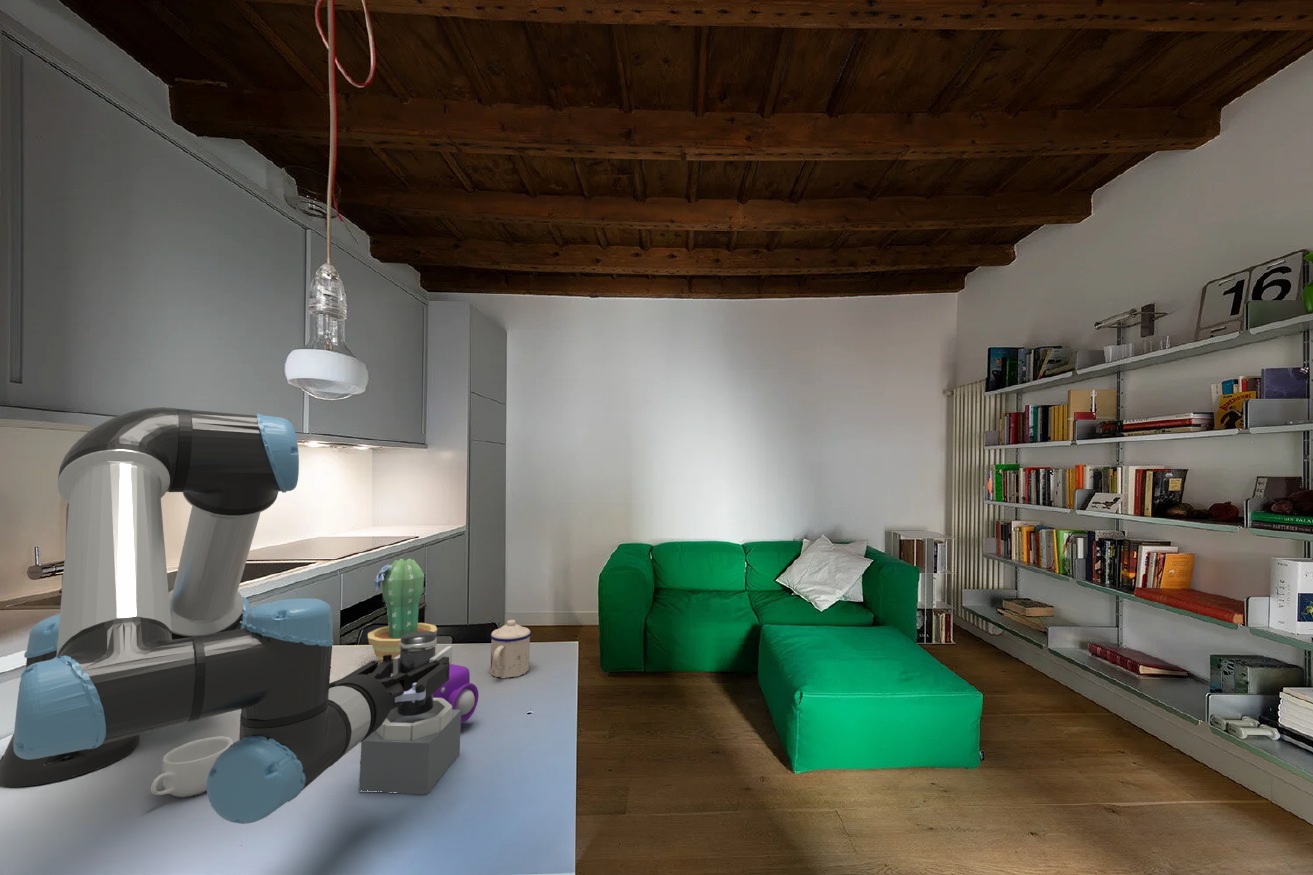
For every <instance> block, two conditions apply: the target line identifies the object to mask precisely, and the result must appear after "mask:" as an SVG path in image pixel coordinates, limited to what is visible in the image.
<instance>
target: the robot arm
mask: <svg viewBox="0 0 1313 875" xmlns="http://www.w3.org/2000/svg"><path fill="white" fill-rule="evenodd" d="M298 444H299V443H298V438H297V434H296V430H295V428H294V425H293V424H292V423H291V421H289V420H288V419H287V418H283V417H280V416H273V415H263V414H262V413H256V415H254V414H244V413H233V412H232V413H231V412H220V411H210V410H209V411H208V410H200V409H199V410H197V409H185V408H176V407H148V408H142V409H137V410H132V411H128V412H126V413H123V414H120V415H117V416H114V417H112V418H109V419H108V420H106V421H104V422H102V423H100V424H99V425H97V426H95V427H94V428H92V429H91V430H89V431H88V432H86V433H85V434H84V435H83V436H81V437H80V438H79V439H77V441H75V443H74V444H73V445H72V446H71V447H70V449H69V450H68V451H67V452H66V454H65V455H64V457H63V459H62V461H61V463H60V465H59V470H58V475H57V476H58V478H57V489H58V493H59V495H60V496H61V498H62V499H63V500H64V501H65V502H66V503H67V504H68V516H67V527H66V538H65V548H64V549H65V550H64V551H65V552H64V563H63V573H62V574H63V576H62V585H61V586H62V587H61V595H60V596H61V599H60V610H59V613H57V614H54V615H52V616H50V617H46V618H45V619H42V620H41V621H39V622H38V623H36V624H35V625H33V627H32V628H31V630H30V631H29V632H30V633H29V636H28V642H27V647H26V651H25V652H24V655H23V656H24V658H25V659H26V663H25V668H24V670H23V671H22V672H21V675H20V681H19V686H18V693H17V703H16V710H15V722H14V728H13V729H14V730H13V731H14V732H13V734H12V736H11V738H10V741H9V743H8V745H7V747H6V749H5V752H4V754H3V755H2V756H1V758H0V785H1V786H3V787H17V788H18V787H28V786H29V787H31V786H36V785H43V784H44V785H45V784H50V783H54V782H59V781H64V780H66V779H70V778H73V777H74V778H76V777H78V776H80V775H81V776H82V775H84V774H87V773H89V772H93V771H95V770H99V769H101V768H103V767H106V766H109V765H111V764H114V763H115V762H118V761H119V760H121V759H123V758H125V757H127V756H128V755H130V754H131V753H133V752H134V751H135V750H136V749H137V748H138V747H139V743H140V735H143V734H147V733H151V732H154V731H159V730H162V729H166V728H169V727H174V726H177V725H181V724H184V723H189V722H193V721H194V722H195V721H197V720H202V719H206V718H210V717H215V716H219V715H223V714H227V713H230V712H231V713H232V712H235V711H238V710H240V716H239V718H240V719H239V721H240V722H239V735H238V736H239V739H238V740H237V741H235V742H233V745H230V747H229V748H228V749H227V750H225V751H224V752H223V753H222V754H221V755H220V756H219V757H218V758H217V760H216V761H215V763H214V765H213V767H212V769H211V771H210V772H209V775H208V778H207V791H206V795H207V799H208V802H209V803H210V806H211V808H212V809H213V810H214V811H215V813H216V814H217V815H218V816H219V817H220V818H222V819H223V820H226V821H228V822H230V823H235V824H241V825H245V824H252V823H256V822H259V821H261V820H263V819H265V818H267V817H268V816H270V815H271V814H272V813H274V812H275V811H277V810H278V809H280V808H281V807H283V806H284V805H286V803H290V802H291V801H293V800H294V799H295V798H297V797H298V796H299V795H300V794H301V793H302V792H303V791H304V790H305V789H306V788H307V787H308V786H309V785H310V784H312V783H313V781H315V780H316V779H317V778H318V777H319V776H320V775H322V774H323V773H324V772H325V771H327V770H328V768H330V767H332V766H334V764H335V763H337V762H338V761H339V760H341V759H342V758H343V757H344V756H345V755H347V754H348V753H349V752H350V751H351V750H352V749H354V748H355V747H357V746H358V745H359V744H361V742H362V741H363V740H364V739H366V738H367V737H368V736H369V735H371V734H372V733H373V732H374V731H376V730H377V729H378V728H379V727H380V726H381V725H382V724H383V722H384V721H385V719H386V717H387V716H388V714H389V712H390V711H391V710H392V709H394V708H397V707H399V706H401V705H402V703H403V701H412V703H415V706H422V705H424V704H425V701H426V699H427V698H428V697H429V696H430V695H431V694H433V693H434V692H435V691H436V690H437V689H439V688H440V687H441V686H442V685H443V684H445V683H446V682H447V681H448V680H449V669H450V664H452V663H453V647H454V646H452V645H448V646H446V647H445V648H443V649H442V650H441V651H439V652H437V653H435V656H434V657H432V658H430V659H429V663H428V664H426V665H424V666H421V667H419V668H417V669H415V670H413V671H411V672H408V673H406V674H403V673H399V667H400V655H398V656H396V657H394V658H393V659H392V655H384V656H383V662H382V663H381V662H380V663H378V662H379V660H371V661H369V662H367V663H365V664H364V665H362V666H361V667H359V668H357V669H356V670H353V671H352V672H350V673H349V674H347V675H345V676H343V677H342V678H340V679H337V680H334V681H332V682H330V681H331V668H332V655H333V645H334V639H333V610H332V607H331V605H330V604H329V603H328V602H326V601H324V600H323V599H319V598H309V597H307V598H306V597H305V598H304V597H303V598H290V599H289V598H288V599H281V600H274V601H272V602H266V603H262V604H258V605H256V606H254V607H252V608H251V606H250V605H251V604H250V602H249V600H248V599H247V598H246V597H245V596H243V595H242V594H241V593H240V592H239V588H240V584H241V580H242V577H243V574H244V570H245V566H246V564H247V560H248V556H249V553H250V549H251V546H252V543H253V540H254V536H255V533H256V530H257V525H258V524H259V519H260V516H261V513H262V512H265V511H266V510H267V509H269V508H270V507H271V506H272V505H274V503H275V502H276V500H277V498H278V495H279V492H281V493H285V494H286V493H287V492H292V491H293V490H295V489H296V487H297V485H298V481H299V476H300V467H299V466H300V457H299V456H300V455H299V446H298ZM166 493H182V495H183V497H184V499H185V501H186V502H187V503H188V504H189V505H190V506H191V509H190V510H191V511H190V514H189V518H188V523H187V528H186V530H185V531H186V532H185V536H184V540H183V545H182V550H181V554H180V558H179V563H178V567H177V571H176V577H175V580H174V581H175V582H174V584H173V589H172V590H170V591H169V584H168V583H169V582H168V571H167V558H166V547H165V544H166V543H165V534H164V533H165V532H164V522H163V520H164V519H163V510H162V498H163V497H164V496H165V494H166Z"/></svg>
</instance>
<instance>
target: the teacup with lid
mask: <svg viewBox="0 0 1313 875" xmlns="http://www.w3.org/2000/svg"><path fill="white" fill-rule="evenodd" d="M531 635H532V632H531V630H530V629H529V628H528V627H525V626H522V625H520V624H517V621H516V620H515V619H509V620H507V622H506V624H504V625H502V626H501V627H499V628H497V629H495V630H493V631H492V632H491V634H490V638H491V644H490V646H491V648H490V674H491V676H493V677H494V676H495V678H497V677H513V676H518V675H522V674H524V673H526V672H527V671H528V672H529V671H530V648H531V647H530V642H531V641H530V640H531ZM528 672H527V673H528ZM527 673H526V674H527ZM524 675H525V674H524ZM522 676H523V675H522Z"/></svg>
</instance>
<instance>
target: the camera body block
mask: <svg viewBox="0 0 1313 875" xmlns="http://www.w3.org/2000/svg"><path fill="white" fill-rule="evenodd" d="M397 711H398V707H397V708H394V709H392V710H391V711H390V712H389V714H388V716H387V717H386V719H385V721H384V722H383V724H382V725H381V726H380V727H379V728H378V729H377V730H376V731H374V732H373V733H372V734H371V735H369V736H368V737H367V738H366V739H364V740H363V741H362V742H360V764H359V783H358V791H359V790H360V791H361V790H362V791H367V790H368V791H377V792H378V791H379V792H380V791H382V792H392V793H391V794H394V793H393V792H397V793H396V794H400V793H405V794H406V795H407V794H408V795H428V794H429V793H430V791H431V790H432V789H433V788H434V787H435V786H436V784H437V783H438V782H439V781H440V779H441V778H442V777H443V776H444V774H446V772H447V771H448V770H449V768H450V767H451V766H452V765H453V763H454V762H455V761H456V760H457V758H458V757H459V756H460V754H461V728H462V727H461V726H462V723H461V710H452V705H451V704H450V703H448V702H447V701H446V700H445V699H443V698H433V708H432V709H431V710H430V711H428V712H425V713H423V714H419V715H413V716H404V715H400V714H398V712H397ZM455 759H456V760H455ZM451 764H452V765H451ZM447 769H448V770H447ZM442 775H443V776H442ZM438 780H439V781H438ZM437 781H438V782H437ZM405 794H404V795H405Z"/></svg>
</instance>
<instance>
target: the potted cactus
mask: <svg viewBox="0 0 1313 875" xmlns="http://www.w3.org/2000/svg"><path fill="white" fill-rule="evenodd" d="M424 582H425V573H424V572H423V570H422V568H421V567H420V566H419V564H418V563H417V562H416V561H415V559H411V558H408V559H407V558H406V559H403V558H400V559H399V560H396V559H394V560H393V562H392V563H391V564H386V565H384V566H382V568H381V569H380V570H379V572H378V573H377V575H376V577H375V579H374V582H373V584H374V587H375V592H378V590H379V589H381V586H382V590H381V591H382V597H383V600H384V603H385V606H386V612H387V624H388V625H387V626H386V625H385V626H383V627H378V628H376V629H374V630H371V631H369V632H368V633H367V639H368V644H369V646H372V649H373V652H374V654H375V657H376V658H377V661H378V662H380V664H381V663H382V662H383V656H384V655H392V659H393V658H394V657H396V656H398V655H400V649H399V644H400V641H401V636H402V635H404V634H407V633H411V632H417V631H432V632H435V633H436V634H437V632H438V628H437V626H436V625H435V624H431V623H426V622H419V607H420V606H419V605H420V601H421V598H422V595H423V592H424ZM381 583H382V584H381Z"/></svg>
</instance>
